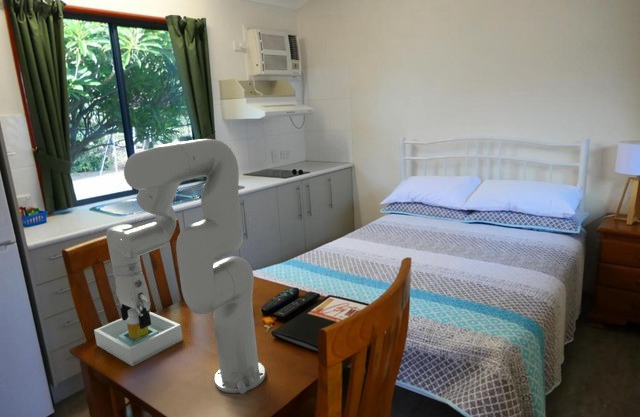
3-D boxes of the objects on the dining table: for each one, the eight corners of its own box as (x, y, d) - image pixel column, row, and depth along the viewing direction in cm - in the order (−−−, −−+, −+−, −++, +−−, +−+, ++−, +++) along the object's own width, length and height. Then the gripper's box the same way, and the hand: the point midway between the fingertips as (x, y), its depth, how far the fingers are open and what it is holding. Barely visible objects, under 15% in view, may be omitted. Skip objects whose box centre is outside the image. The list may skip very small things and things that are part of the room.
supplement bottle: (142, 345, 127) (137, 314, 125) (126, 344, 128) (120, 313, 126) (153, 335, 132) (148, 305, 130) (137, 334, 133) (132, 305, 131)
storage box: (182, 339, 130) (180, 324, 129) (132, 366, 118) (129, 349, 117) (145, 322, 143) (143, 308, 141) (96, 345, 130) (93, 330, 129)
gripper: (155, 268, 122) (164, 324, 126) (123, 259, 133) (133, 310, 137) (130, 277, 117) (140, 335, 121) (99, 267, 127) (109, 320, 131)
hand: (136, 322), depth 129 cm, fingers open, 9 cm apart
